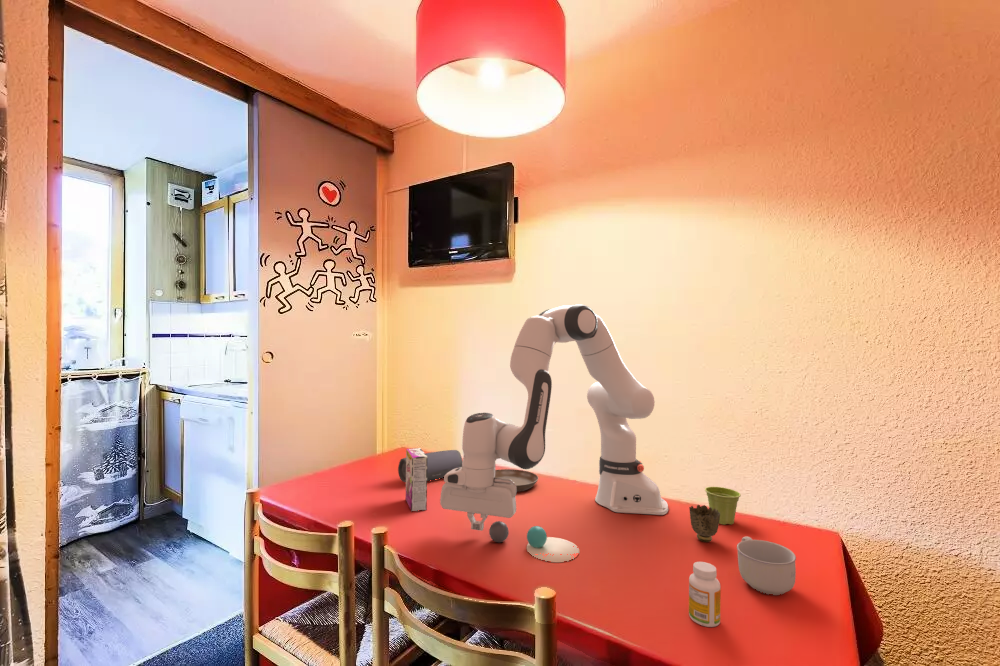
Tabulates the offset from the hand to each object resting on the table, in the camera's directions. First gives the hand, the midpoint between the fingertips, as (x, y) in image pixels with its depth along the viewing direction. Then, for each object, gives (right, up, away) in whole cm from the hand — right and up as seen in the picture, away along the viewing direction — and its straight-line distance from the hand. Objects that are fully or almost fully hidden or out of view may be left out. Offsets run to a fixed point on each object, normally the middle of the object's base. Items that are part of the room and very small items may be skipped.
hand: (477, 529), depth 115 cm
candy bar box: (-20, -3, +22) cm, 30 cm away
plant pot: (+71, -4, +14) cm, 73 cm away
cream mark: (+19, -2, -6) cm, 20 cm away
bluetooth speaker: (-20, -3, +48) cm, 52 cm away
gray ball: (+6, 0, -2) cm, 6 cm away
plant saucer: (+9, -4, +44) cm, 45 cm away
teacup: (+63, -3, -20) cm, 66 cm away
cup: (+60, -4, +1) cm, 60 cm away
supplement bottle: (+44, -3, -33) cm, 55 cm away
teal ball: (+15, 0, -5) cm, 16 cm away
